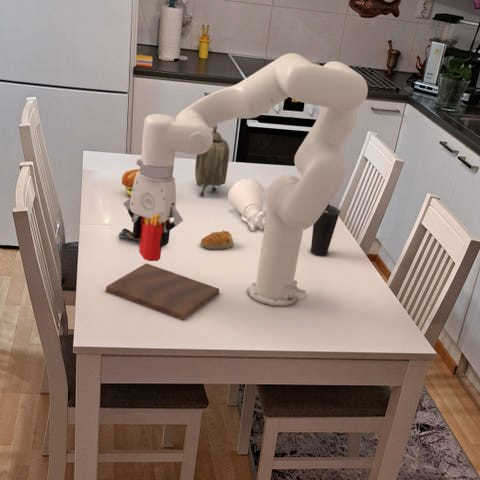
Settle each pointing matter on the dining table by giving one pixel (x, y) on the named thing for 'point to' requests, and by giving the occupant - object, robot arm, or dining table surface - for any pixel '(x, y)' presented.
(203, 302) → the cutting board
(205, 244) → the pastry
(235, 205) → the rocket engine
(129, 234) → the snack package
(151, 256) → the french fries
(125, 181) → the cheeseburger
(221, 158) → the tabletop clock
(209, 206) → the dining table surface
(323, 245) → the drinking cup
